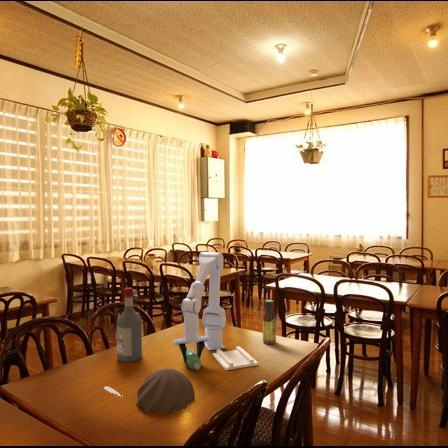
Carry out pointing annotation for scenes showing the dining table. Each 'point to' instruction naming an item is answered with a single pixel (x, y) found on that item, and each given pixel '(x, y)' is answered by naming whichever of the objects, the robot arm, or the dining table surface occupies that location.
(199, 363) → the green bottle
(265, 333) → the sauce bottle
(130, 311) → the liquor
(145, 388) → the decorative dome
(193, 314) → the robot arm
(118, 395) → the butter knife
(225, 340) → the dining table surface
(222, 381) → the dining table surface
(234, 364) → the bottle cradle
